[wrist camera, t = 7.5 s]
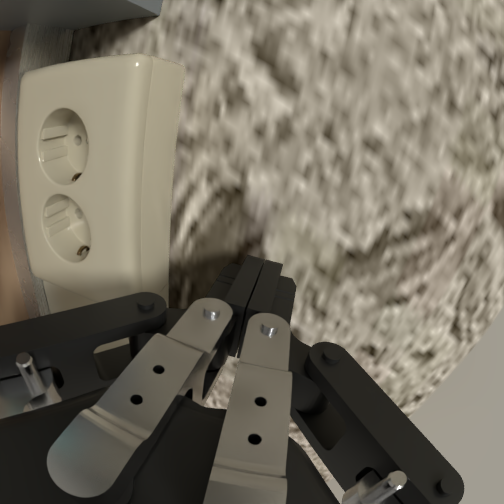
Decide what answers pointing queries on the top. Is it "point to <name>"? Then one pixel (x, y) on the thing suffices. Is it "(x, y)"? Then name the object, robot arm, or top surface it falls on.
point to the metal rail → (17, 63)
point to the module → (73, 12)
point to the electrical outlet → (99, 176)
